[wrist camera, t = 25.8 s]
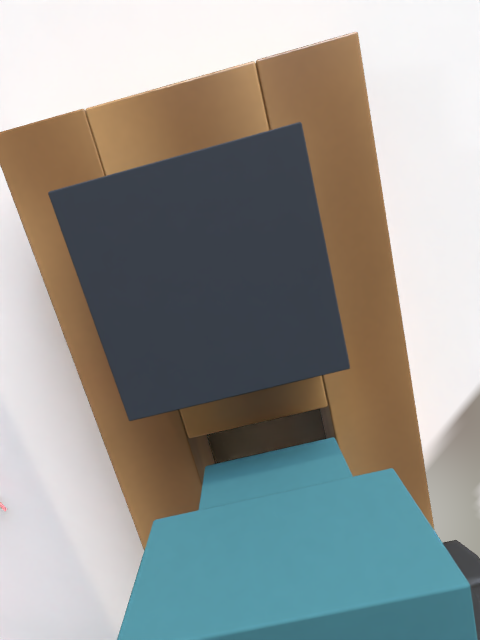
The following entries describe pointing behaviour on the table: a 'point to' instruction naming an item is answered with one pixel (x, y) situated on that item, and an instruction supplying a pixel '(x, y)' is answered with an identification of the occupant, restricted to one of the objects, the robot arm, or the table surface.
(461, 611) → the teal stepped block
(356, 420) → the block
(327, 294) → the dark grey cube
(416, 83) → the table surface
